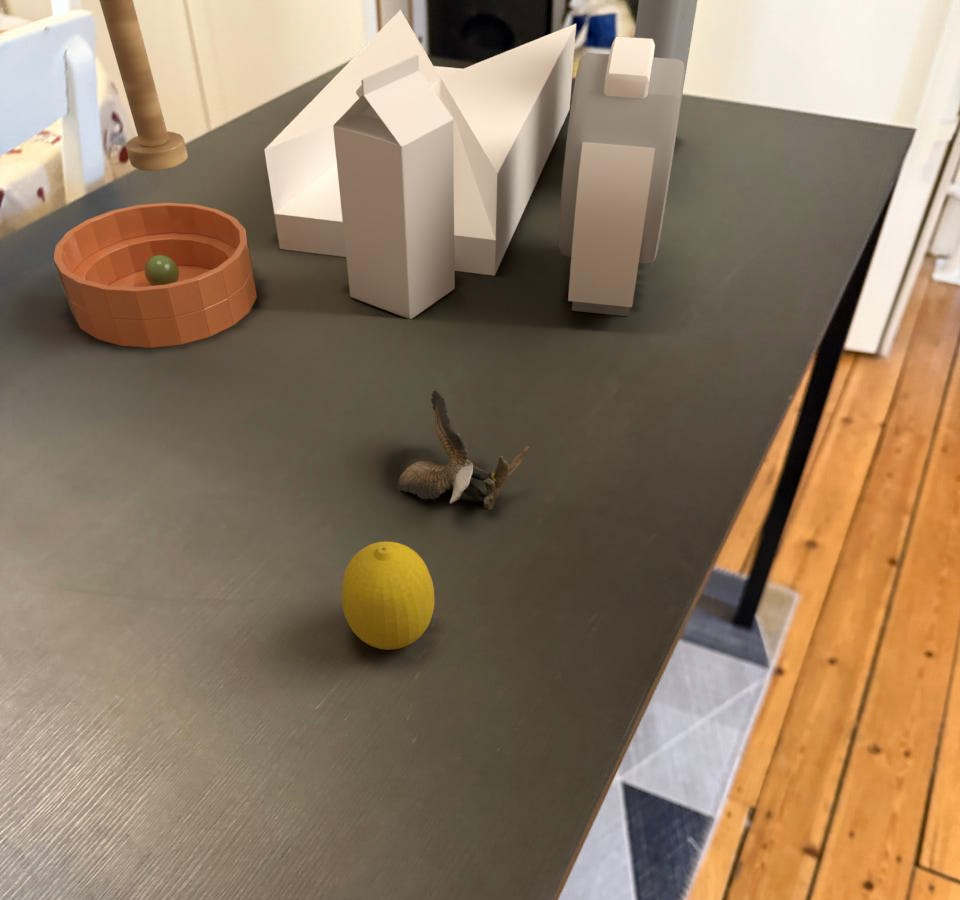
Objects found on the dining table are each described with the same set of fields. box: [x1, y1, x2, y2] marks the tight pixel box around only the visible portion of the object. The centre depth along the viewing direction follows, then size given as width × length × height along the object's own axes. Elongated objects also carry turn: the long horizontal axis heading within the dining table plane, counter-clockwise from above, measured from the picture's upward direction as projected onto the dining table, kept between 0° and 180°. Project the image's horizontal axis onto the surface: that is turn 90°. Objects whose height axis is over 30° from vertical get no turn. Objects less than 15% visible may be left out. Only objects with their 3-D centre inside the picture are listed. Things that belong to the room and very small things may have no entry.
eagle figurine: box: [397, 388, 530, 510], centre depth 65 cm, size 8×7×9 cm
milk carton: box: [333, 55, 456, 320], centre depth 79 cm, size 7×7×19 cm
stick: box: [98, 0, 189, 172], centre depth 59 cm, size 4×4×16 cm
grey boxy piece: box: [558, 36, 685, 317], centre depth 80 cm, size 18×8×20 cm, turn 170°
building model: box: [263, 9, 577, 277], centre depth 102 cm, size 45×22×10 cm, turn 167°
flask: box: [633, 0, 698, 107], centre depth 96 cm, size 17×5×25 cm, turn 162°
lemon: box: [340, 541, 435, 651], centre depth 55 cm, size 6×6×8 cm
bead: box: [144, 255, 179, 286], centre depth 84 cm, size 3×3×3 cm
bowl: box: [53, 202, 258, 349], centre depth 82 cm, size 16×16×6 cm
